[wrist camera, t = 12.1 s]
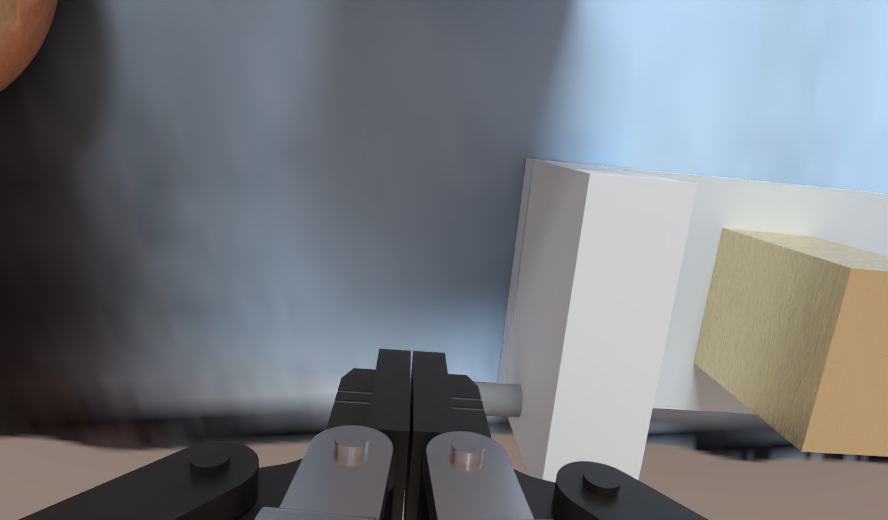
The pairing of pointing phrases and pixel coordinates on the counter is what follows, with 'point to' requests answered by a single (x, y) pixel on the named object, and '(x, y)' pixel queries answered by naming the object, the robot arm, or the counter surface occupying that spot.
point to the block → (801, 338)
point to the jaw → (591, 315)
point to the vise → (715, 207)
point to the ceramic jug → (22, 34)
